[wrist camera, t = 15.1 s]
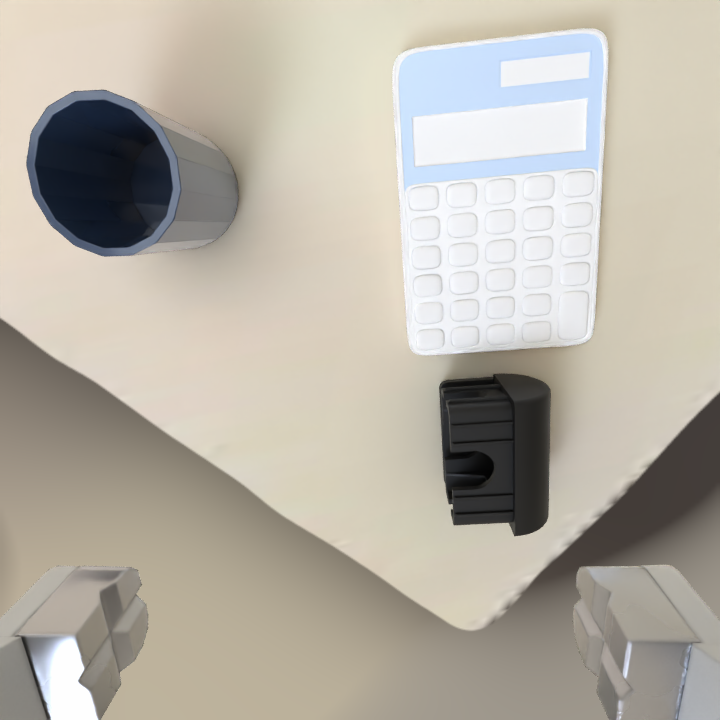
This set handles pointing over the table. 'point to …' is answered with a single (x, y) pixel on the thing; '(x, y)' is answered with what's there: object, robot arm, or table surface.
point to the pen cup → (127, 177)
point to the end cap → (497, 450)
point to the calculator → (501, 189)
